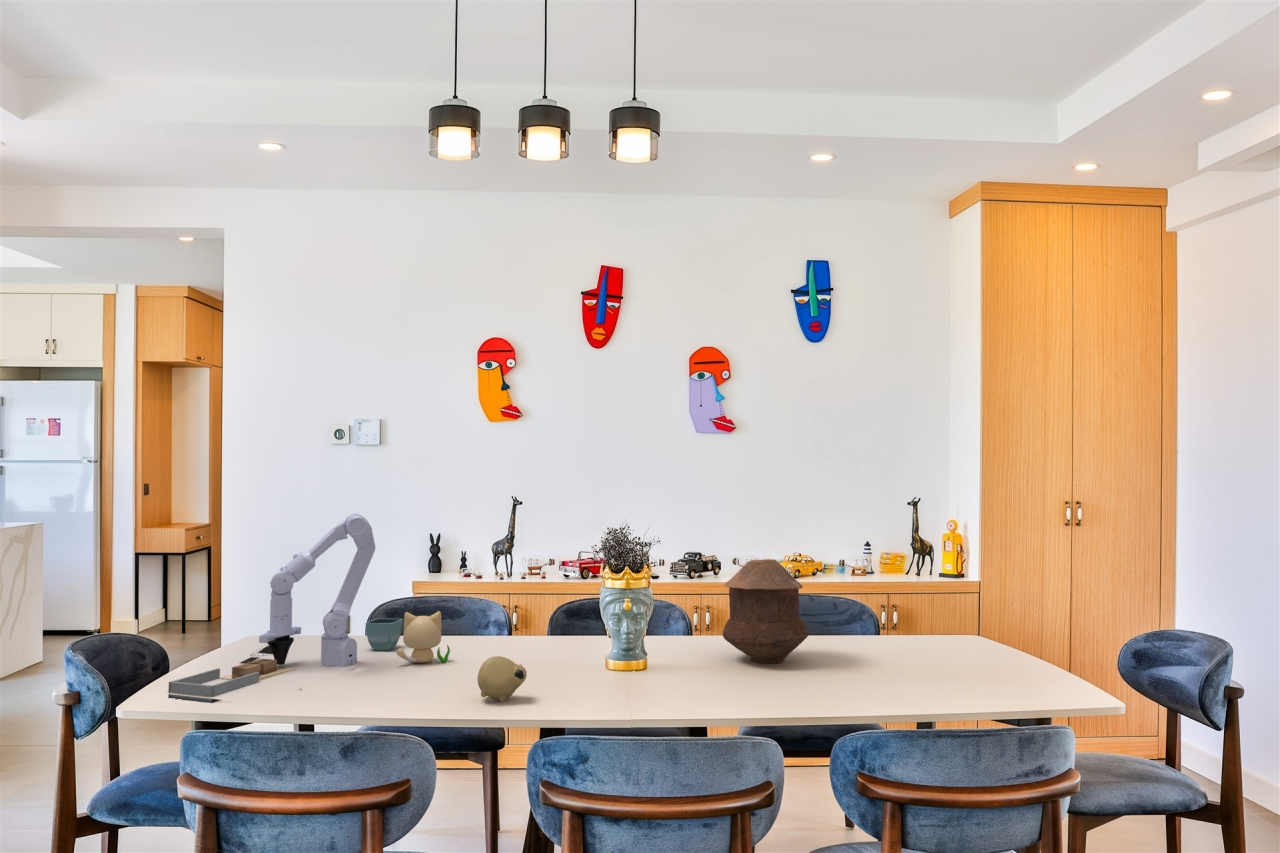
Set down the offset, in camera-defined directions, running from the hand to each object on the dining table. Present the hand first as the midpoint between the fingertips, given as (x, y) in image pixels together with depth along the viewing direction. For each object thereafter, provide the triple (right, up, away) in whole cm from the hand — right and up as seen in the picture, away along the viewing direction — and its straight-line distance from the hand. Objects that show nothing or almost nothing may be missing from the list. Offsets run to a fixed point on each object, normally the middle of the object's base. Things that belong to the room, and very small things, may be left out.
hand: (280, 664), depth 247 cm
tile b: (-4, 0, -12) cm, 13 cm away
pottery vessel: (+138, -4, +16) cm, 139 cm away
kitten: (+37, -3, +13) cm, 39 cm away
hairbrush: (-12, -3, +13) cm, 18 cm away
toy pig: (+67, -1, -28) cm, 72 cm away
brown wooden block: (-2, 0, -6) cm, 7 cm away
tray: (-7, -1, -23) cm, 24 cm away
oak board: (-3, -2, -8) cm, 9 cm away
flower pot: (+20, -4, +31) cm, 37 cm away
